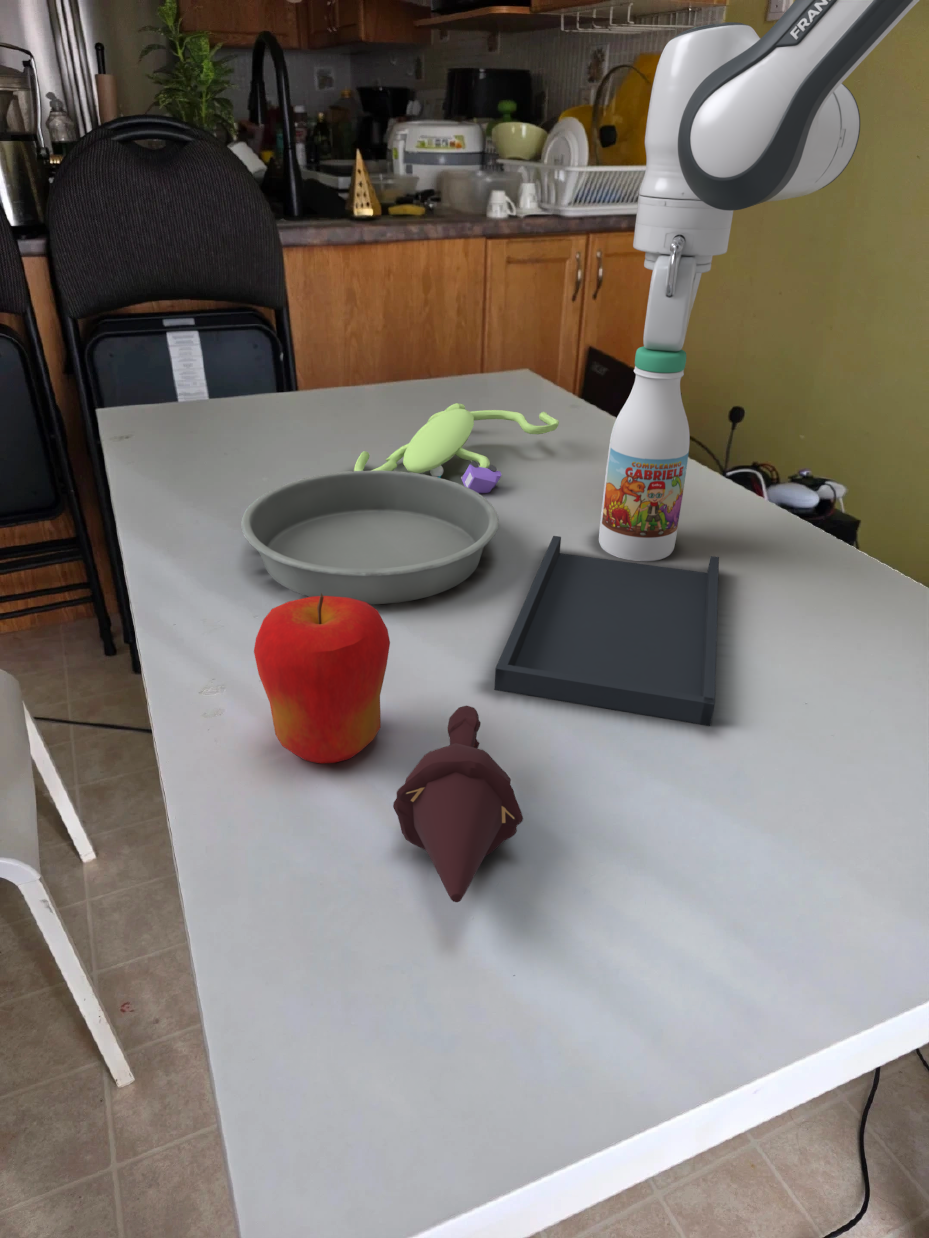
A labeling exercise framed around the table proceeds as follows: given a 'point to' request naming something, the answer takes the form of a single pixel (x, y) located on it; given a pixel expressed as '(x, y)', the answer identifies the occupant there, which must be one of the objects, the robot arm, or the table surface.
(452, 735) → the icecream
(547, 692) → the tray
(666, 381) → the milk bottle
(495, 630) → the table surface
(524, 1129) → the table surface
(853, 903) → the table surface
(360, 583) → the cake pan
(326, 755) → the apple
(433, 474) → the figurine
